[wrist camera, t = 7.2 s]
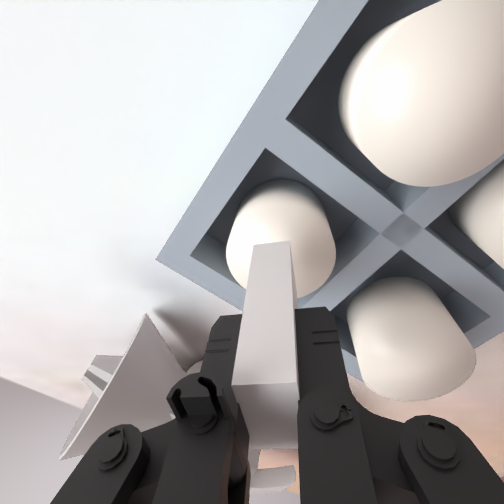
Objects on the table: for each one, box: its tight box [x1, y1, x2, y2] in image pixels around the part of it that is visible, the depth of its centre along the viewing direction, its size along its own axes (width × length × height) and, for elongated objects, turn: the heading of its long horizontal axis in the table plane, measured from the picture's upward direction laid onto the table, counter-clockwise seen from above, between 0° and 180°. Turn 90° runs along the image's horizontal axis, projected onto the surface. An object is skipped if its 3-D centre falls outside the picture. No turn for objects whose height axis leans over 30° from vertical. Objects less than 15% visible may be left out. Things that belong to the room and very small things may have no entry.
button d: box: [226, 179, 336, 298], centre depth 16 cm, size 5×5×4 cm
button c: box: [338, 0, 504, 187], centre depth 11 cm, size 5×5×4 cm
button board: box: [155, 0, 504, 382], centre depth 17 cm, size 18×18×4 cm
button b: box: [347, 276, 476, 401], centre depth 17 cm, size 5×5×4 cm
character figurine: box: [60, 313, 296, 494], centre depth 24 cm, size 13×9×20 cm
